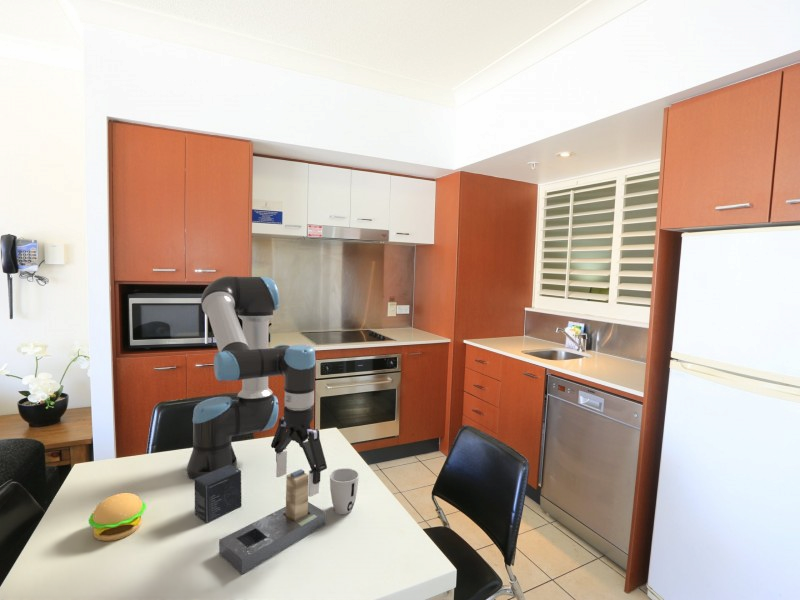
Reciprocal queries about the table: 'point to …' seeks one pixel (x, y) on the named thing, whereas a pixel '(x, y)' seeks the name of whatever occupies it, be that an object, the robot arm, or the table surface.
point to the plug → (297, 495)
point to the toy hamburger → (117, 516)
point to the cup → (343, 489)
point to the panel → (268, 537)
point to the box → (217, 493)
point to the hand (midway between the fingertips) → (296, 484)
